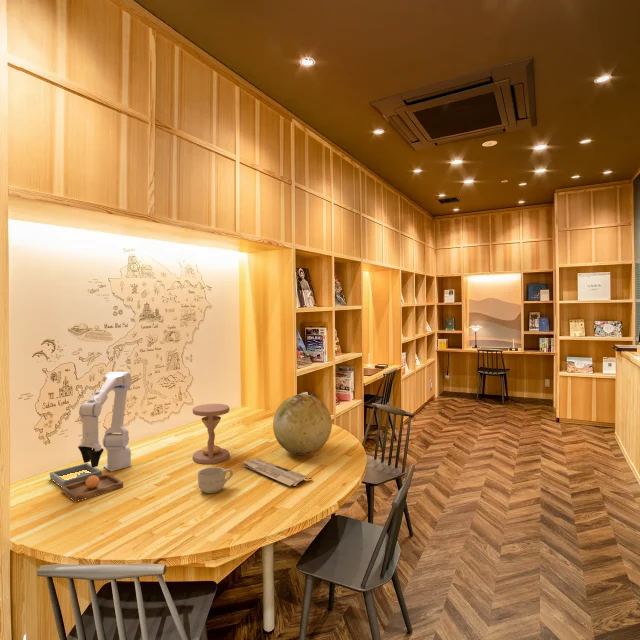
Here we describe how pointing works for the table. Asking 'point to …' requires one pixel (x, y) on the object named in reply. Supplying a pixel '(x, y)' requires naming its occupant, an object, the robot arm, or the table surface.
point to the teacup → (212, 479)
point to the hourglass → (211, 433)
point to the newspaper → (275, 471)
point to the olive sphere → (302, 424)
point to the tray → (81, 491)
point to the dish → (74, 469)
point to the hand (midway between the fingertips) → (90, 464)
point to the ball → (92, 482)
